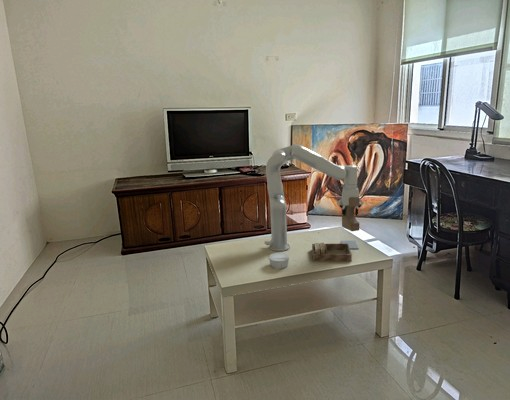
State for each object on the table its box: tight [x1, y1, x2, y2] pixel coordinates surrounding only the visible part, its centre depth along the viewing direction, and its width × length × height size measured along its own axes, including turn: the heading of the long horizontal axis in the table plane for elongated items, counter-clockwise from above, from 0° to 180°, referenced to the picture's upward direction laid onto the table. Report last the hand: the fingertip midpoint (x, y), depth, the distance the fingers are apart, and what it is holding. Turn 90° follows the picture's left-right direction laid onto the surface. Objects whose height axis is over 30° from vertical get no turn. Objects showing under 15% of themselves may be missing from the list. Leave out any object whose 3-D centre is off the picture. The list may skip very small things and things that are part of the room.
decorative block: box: [341, 197, 361, 232], centre depth 217 cm, size 11×6×20 cm, turn 18°
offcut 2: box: [319, 242, 325, 254], centre depth 207 cm, size 2×10×6 cm, turn 174°
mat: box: [340, 240, 359, 250], centre depth 221 cm, size 9×13×1 cm
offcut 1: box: [314, 242, 320, 254], centre depth 208 cm, size 2×10×6 cm, turn 174°
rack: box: [311, 243, 353, 262], centre depth 207 cm, size 21×17×4 cm
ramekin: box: [268, 252, 290, 270], centre depth 197 cm, size 11×11×5 cm
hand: (350, 214), depth 217 cm, fingers closed on decorative block, 6 cm apart
